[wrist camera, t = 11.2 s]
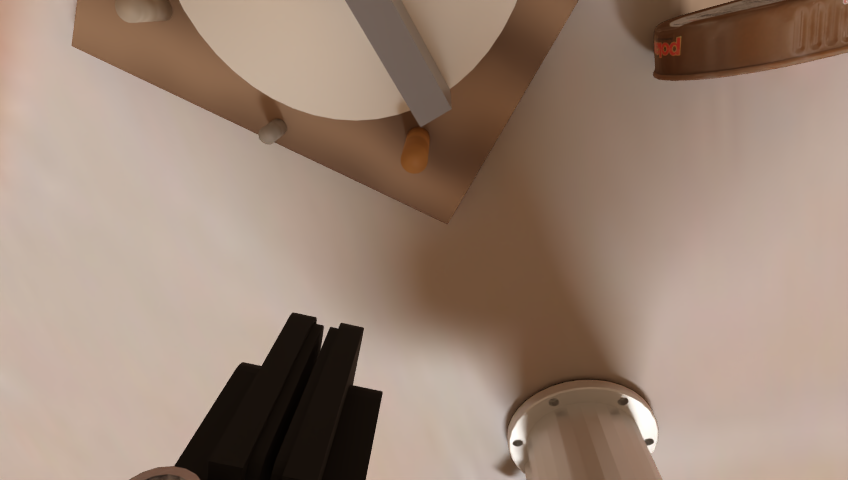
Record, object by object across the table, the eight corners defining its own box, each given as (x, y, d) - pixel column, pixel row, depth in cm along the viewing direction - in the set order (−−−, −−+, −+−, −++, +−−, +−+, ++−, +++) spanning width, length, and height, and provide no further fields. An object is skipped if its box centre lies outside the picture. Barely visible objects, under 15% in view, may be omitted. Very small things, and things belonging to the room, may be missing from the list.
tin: (630, 74, 27) (701, 101, 20) (627, 16, 26) (702, 22, 18) (916, 5, 25) (1119, 6, 18) (930, -62, 24) (1156, -92, 16)
